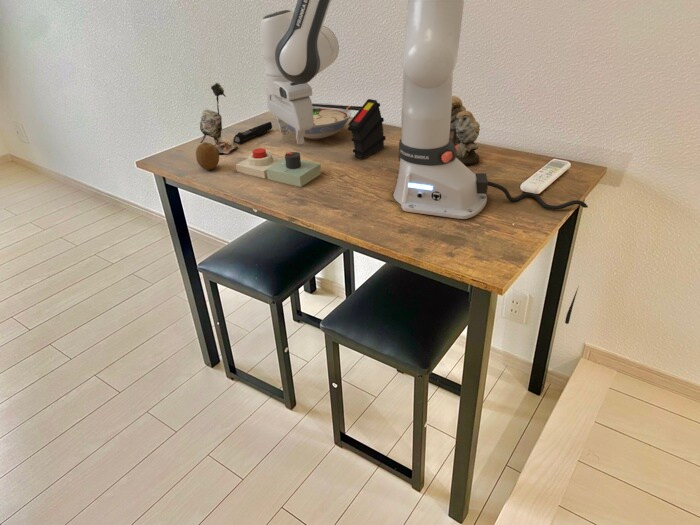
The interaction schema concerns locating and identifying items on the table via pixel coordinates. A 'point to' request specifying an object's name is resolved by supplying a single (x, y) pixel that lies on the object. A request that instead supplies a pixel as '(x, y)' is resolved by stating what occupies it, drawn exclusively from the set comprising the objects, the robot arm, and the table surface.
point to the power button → (259, 153)
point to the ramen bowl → (327, 120)
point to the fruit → (207, 156)
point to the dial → (292, 160)
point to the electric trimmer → (252, 133)
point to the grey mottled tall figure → (214, 124)
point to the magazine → (367, 130)
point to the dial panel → (294, 173)
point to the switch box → (257, 165)
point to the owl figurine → (464, 132)
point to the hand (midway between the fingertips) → (292, 138)
